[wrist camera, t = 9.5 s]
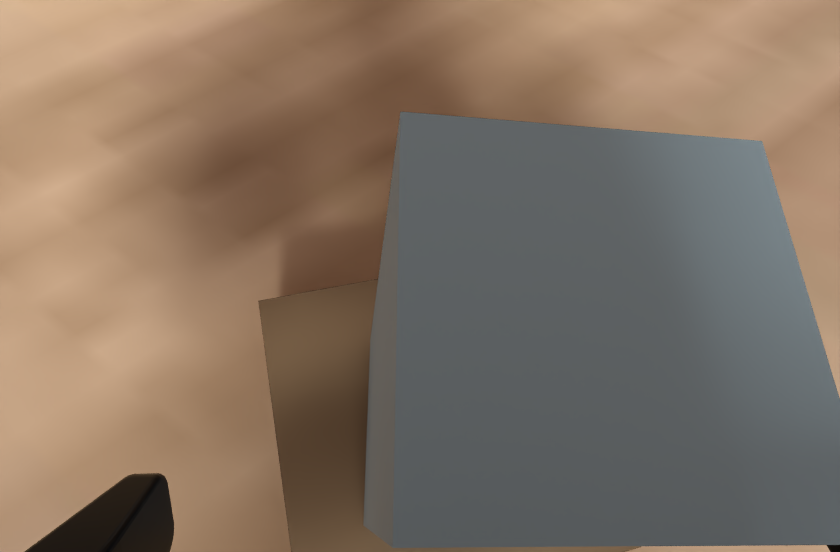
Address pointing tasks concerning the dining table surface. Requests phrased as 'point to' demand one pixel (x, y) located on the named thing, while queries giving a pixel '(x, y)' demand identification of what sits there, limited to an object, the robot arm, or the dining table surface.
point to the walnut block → (331, 418)
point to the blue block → (593, 346)
